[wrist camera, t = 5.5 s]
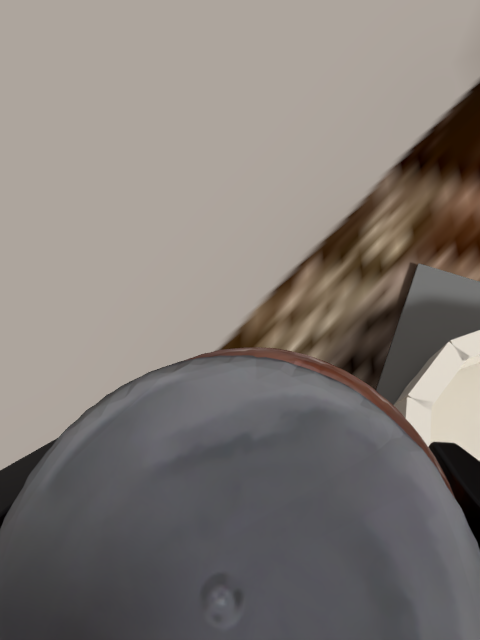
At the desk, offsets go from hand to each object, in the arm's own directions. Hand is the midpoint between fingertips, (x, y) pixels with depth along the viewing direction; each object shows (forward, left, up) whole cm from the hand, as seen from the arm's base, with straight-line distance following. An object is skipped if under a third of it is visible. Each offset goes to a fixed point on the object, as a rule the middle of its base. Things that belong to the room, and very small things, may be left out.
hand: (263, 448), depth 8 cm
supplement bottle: (-1, +1, -7) cm, 7 cm away
